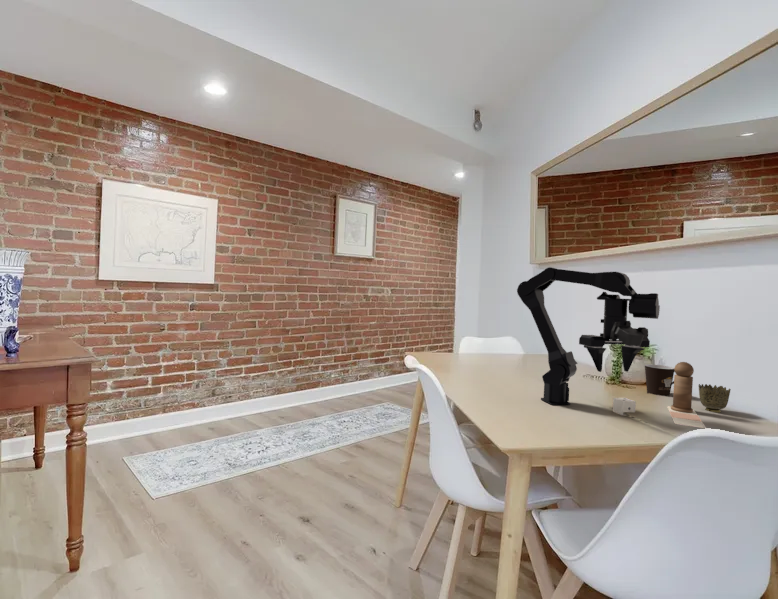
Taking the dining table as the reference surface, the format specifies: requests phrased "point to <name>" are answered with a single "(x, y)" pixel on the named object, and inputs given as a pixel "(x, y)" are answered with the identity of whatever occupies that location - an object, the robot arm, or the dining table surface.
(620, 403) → the die
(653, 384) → the coffee mug
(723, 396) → the cup
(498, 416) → the dining table surface
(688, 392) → the pawn
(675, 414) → the board
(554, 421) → the dining table surface
